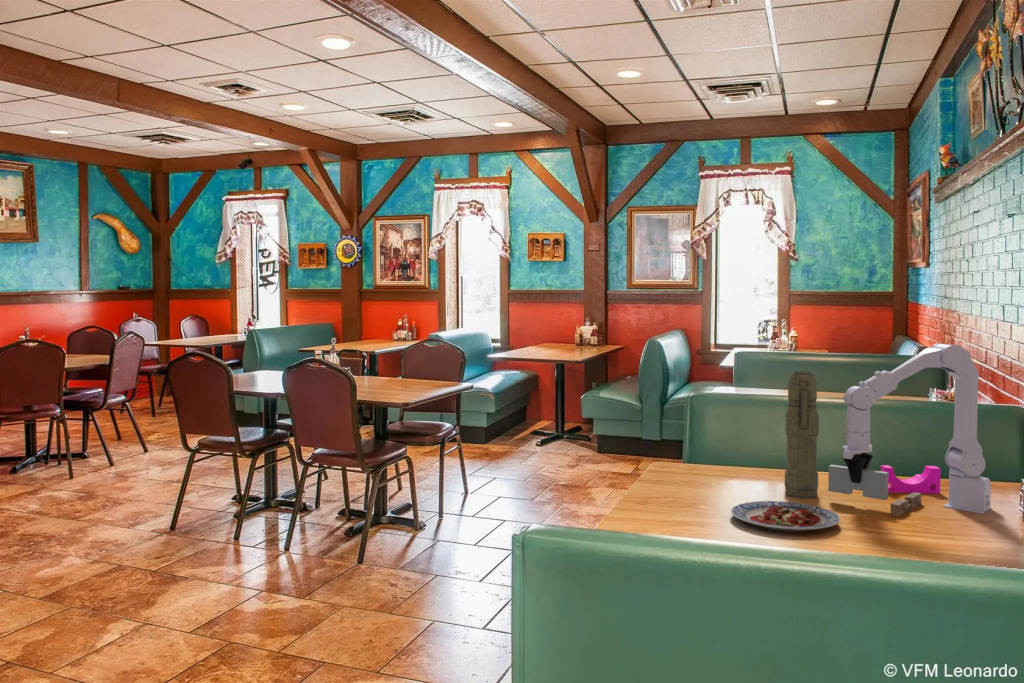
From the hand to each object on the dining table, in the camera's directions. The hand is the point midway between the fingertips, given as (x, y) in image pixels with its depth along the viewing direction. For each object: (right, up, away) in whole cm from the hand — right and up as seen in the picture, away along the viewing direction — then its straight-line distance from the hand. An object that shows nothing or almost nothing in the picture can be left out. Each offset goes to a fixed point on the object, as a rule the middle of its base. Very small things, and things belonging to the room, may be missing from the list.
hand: (857, 481), depth 215 cm
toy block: (+22, -6, +17) cm, 28 cm away
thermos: (-11, -6, +12) cm, 17 cm away
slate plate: (0, -4, 0) cm, 3 cm away
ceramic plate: (-25, -8, -15) cm, 30 cm away
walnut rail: (+11, -7, -4) cm, 13 cm away
